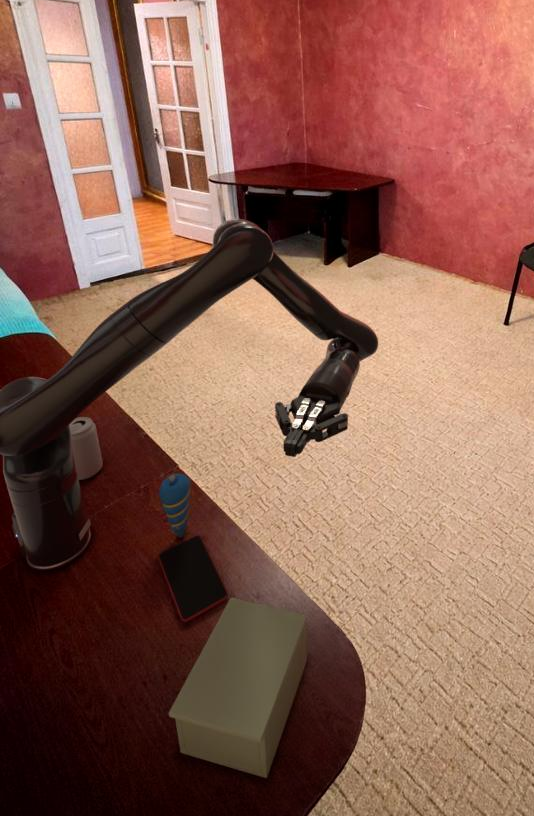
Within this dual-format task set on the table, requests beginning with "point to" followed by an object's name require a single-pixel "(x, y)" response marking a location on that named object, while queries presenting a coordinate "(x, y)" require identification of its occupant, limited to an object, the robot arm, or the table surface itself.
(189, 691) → the lid
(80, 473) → the beverage can
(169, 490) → the ornament
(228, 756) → the chest
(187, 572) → the smartphone
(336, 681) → the table surface
